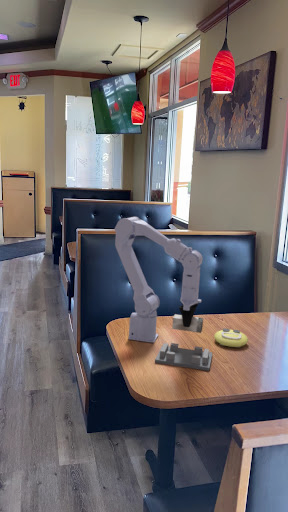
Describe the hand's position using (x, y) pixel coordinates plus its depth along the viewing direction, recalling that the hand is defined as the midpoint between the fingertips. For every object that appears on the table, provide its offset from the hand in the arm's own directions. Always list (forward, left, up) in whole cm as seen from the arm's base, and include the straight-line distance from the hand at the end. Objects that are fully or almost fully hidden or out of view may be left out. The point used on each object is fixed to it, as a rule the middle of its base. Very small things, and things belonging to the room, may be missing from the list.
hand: (187, 324), depth 145 cm
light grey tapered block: (0, 0, -2) cm, 2 cm away
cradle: (+1, -11, -8) cm, 14 cm away
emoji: (+15, +9, -8) cm, 19 cm away
